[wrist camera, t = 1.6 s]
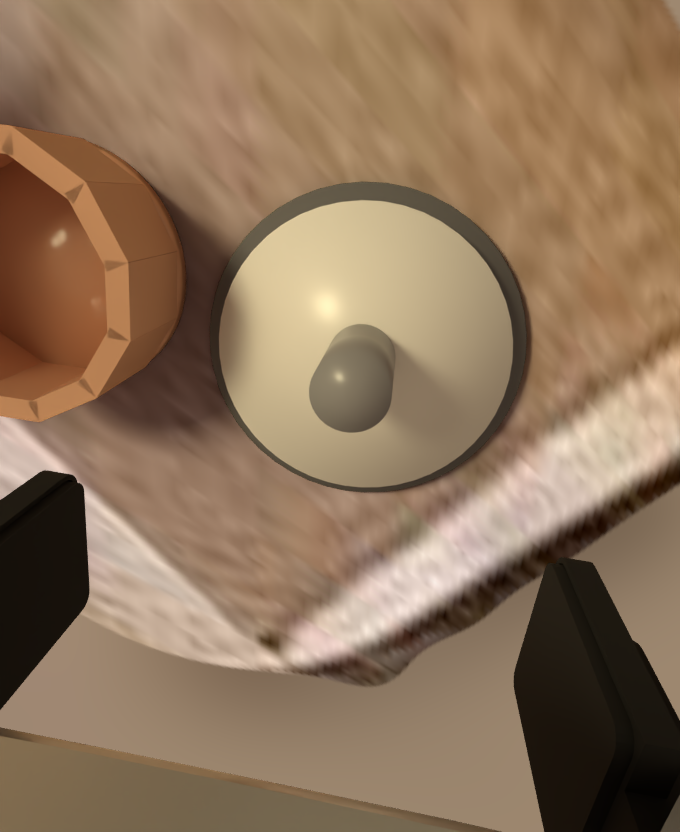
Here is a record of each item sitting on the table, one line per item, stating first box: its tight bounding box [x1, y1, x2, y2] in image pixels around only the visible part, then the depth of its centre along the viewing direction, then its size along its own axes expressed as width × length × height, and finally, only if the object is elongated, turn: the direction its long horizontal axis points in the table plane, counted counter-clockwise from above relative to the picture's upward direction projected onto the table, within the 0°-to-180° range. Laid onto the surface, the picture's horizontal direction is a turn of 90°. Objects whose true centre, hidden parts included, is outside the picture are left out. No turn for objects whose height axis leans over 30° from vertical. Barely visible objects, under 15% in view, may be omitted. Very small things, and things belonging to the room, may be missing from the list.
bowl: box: [0, 124, 186, 422], centre depth 23 cm, size 11×11×6 cm
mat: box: [210, 182, 527, 492], centre depth 26 cm, size 14×14×1 cm
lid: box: [219, 200, 513, 487], centre depth 23 cm, size 13×13×6 cm
